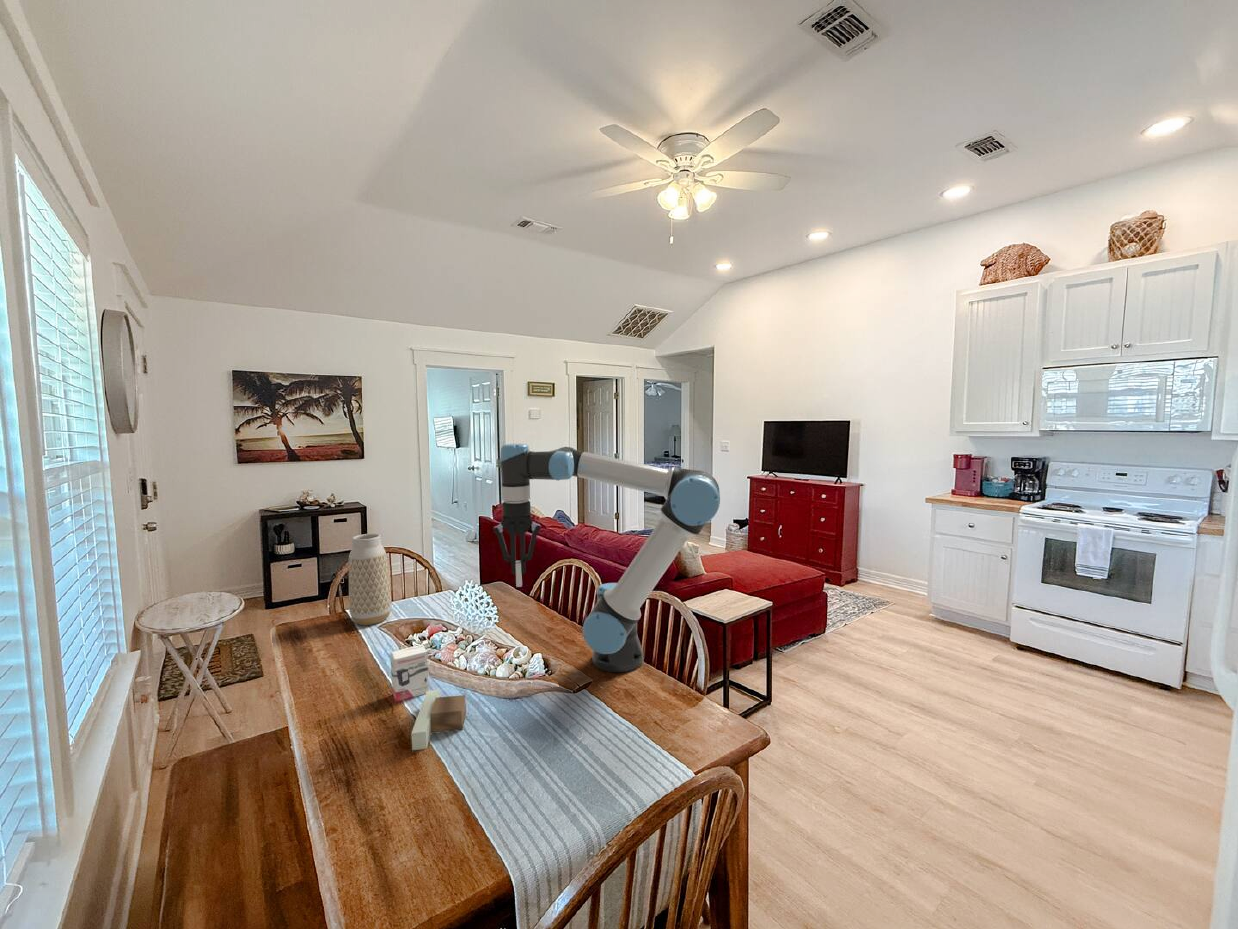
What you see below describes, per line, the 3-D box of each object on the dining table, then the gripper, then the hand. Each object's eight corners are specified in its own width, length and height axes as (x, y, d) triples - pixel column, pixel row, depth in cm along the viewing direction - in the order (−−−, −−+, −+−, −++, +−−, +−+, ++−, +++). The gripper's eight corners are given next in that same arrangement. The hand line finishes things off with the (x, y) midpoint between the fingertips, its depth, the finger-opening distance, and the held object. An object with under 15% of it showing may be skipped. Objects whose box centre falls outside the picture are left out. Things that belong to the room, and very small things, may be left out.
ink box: (396, 703, 137) (393, 659, 136) (392, 694, 141) (389, 651, 140) (430, 692, 142) (427, 650, 141) (425, 685, 146) (423, 643, 145)
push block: (466, 714, 132) (465, 695, 131) (462, 731, 125) (461, 710, 125) (436, 717, 131) (435, 697, 130) (431, 734, 124) (430, 713, 124)
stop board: (440, 704, 136) (439, 689, 136) (426, 748, 118) (425, 731, 118) (427, 705, 136) (426, 690, 135) (412, 750, 118) (411, 733, 117)
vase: (385, 609, 201) (380, 530, 198) (397, 620, 191) (392, 536, 187) (346, 619, 192) (340, 536, 189) (356, 631, 182) (350, 543, 179)
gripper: (540, 497, 150) (542, 579, 152) (492, 499, 147) (495, 582, 150) (540, 502, 142) (543, 588, 145) (490, 504, 140) (494, 591, 143)
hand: (519, 585), depth 147 cm, fingers closed
